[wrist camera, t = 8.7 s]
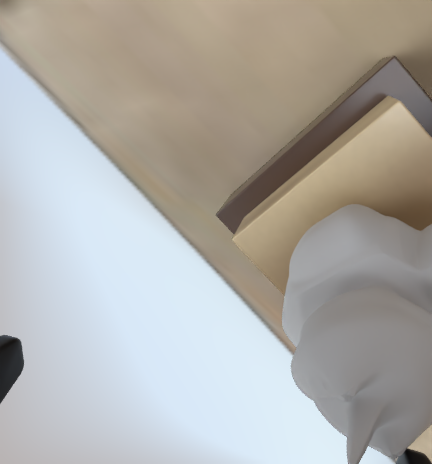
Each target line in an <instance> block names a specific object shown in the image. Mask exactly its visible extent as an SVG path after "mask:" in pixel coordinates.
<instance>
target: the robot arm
mask: <svg viewBox="0 0 432 464" xmlns="http://www.w3.org/2000/svg"><path fill="white" fill-rule="evenodd" d="M23 366H24V359H23V352H22V345H21V341H20V340H19V339H18V338H15V337H12V336H8V335H2V336H0V403H1V402H2V400H3V399H4V398H5V396H6V395H7V393H8V392H9V390H10V389H11V387H12V386H13V384H14V383H15V381H16V380H17V378H18V377H19V376H20V374H21V372H22V370H23ZM396 464H432V463H431V461H430V460H429V459H428V457H427V456H426V455H425V454H423V453H421V452H418V451H414V450H411V449H407V448H406V450H405V451H404V453H403V454H402V455H401V456H399V457H398V459H397V462H396Z"/></svg>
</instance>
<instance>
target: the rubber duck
mask: <svg viewBox="0 0 432 464" xmlns="http://www.w3.org/2000/svg"><path fill="white" fill-rule="evenodd" d="M282 325H283V330H284V332H285V333H286V335H287V337H288V338H289V339H290V340H291V342H292V343H293V344H294V345H295V347H296V348H297V349H296V351H295V353H294V356H293V359H292V363H291V372H292V376H293V379H294V381H295V383H296V385H297V386H298V388H299V389H300V390H301V391H302V392H303V393H304V394H305V395H306V396H307V397H308V398H310V399H311V400H313V401H314V403H315V404H316V406H317V408H318V409H319V411H320V412H321V413H322V415H323V416H324V417H325V418H326V420H327V421H328V422H329V423H330V424H331V425H332V426H333V427H334V428H335V429H337V430H338V431H339V432H340V433H342V434H343V435H345V436H346V437H347V458H348V464H359V462H360V460H361V458H362V456H363V454H364V453H365V451H366V449H367V447H368V446H370V447H371V448H373V449H375V450H377V451H379V452H381V453H382V454H384V455H386V456H388V457H391V458H392V459H393V460H395V458H397V457H399V456H401V455H402V454H403V453H404V451H405V450H406V448H407V447H408V446H409V445H411V444H412V443H413V442H414V441H415V440H416V439H417V438H418V437H419V436H420V435H421V434H422V433H423V432H424V431H425V430H426V429H427V428H428V427H429V426H430V425H431V424H432V224H431V225H429V226H427V227H426V228H425V229H423V230H422V231H419V230H416V229H414V228H412V227H411V226H409V225H407V224H405V223H404V222H402V221H400V220H398V219H396V218H393V217H389V216H384V215H382V214H380V213H378V212H376V211H375V210H373V209H371V208H369V207H366V206H363V205H359V204H351V205H347V206H344V207H342V208H340V209H339V210H337V211H335V212H334V213H332V214H331V215H329V216H327V217H326V218H324V219H323V220H321V221H319V222H318V223H316V224H315V225H313V226H312V227H311V228H310V229H309V230H308V231H307V232H306V233H305V234H304V235H303V237H302V238H301V239H300V241H299V242H298V244H297V246H296V248H295V250H294V252H293V254H292V256H291V259H290V265H289V278H288V282H287V286H286V291H285V298H284V305H283V314H282Z"/></svg>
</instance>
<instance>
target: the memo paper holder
mask: <svg viewBox="0 0 432 464" xmlns="http://www.w3.org/2000/svg"><path fill="white" fill-rule="evenodd" d="M351 204H359V205H363V206H366V207H369V208H371V209H373V210H375V211H376V212H378V213H380V214H382V215H384V216H389V217H393V218H396V219H398V220H400V221H402V222H404V223H405V224H407V225H409V226H411V227H412V228H414V229H416V230H419V231H422V230H423V229H425V228H426V227H427V226H429V225H431V224H432V99H431V98H430V97H429V96H428V95H427V93H426V92H425V91H424V90H423V89H422V87H421V86H420V85H419V84H418V83H417V81H416V80H415V79H414V78H413V77H412V75H411V74H410V73H409V72H408V71H407V69H406V68H405V67H404V66H403V65H402V63H401V62H400V61H399V60H398V59H397V57H396V56H392V57H386V58H383V59H382V60H381V61H379V62H378V63H377V64H376V65H375V66H374V67H373V68H372V69H371V70H369V71H368V72H367V73H366V74H365V75H364V76H363V77H362V78H360V79H359V80H358V81H357V82H356V83H355V84H354V85H353V86H352V87H350V88H349V89H348V90H347V91H346V92H345V93H344V94H343V95H342V96H340V97H339V98H338V99H337V100H336V101H335V102H334V103H333V104H332V105H330V106H329V107H328V108H327V109H326V110H325V111H324V112H323V113H322V114H320V115H319V116H318V117H317V118H316V119H315V120H314V121H313V122H312V123H310V124H309V125H308V126H307V127H306V128H305V129H304V130H303V131H302V132H300V133H299V134H298V135H297V136H296V137H295V138H294V139H293V140H292V141H290V142H289V143H288V144H287V145H286V146H285V147H284V148H283V149H281V150H280V151H279V152H278V153H277V154H276V155H275V156H274V157H273V158H271V159H270V160H269V161H268V162H267V163H266V164H265V165H264V166H263V167H261V168H260V169H259V170H258V171H257V172H256V173H255V174H254V175H253V176H251V177H250V178H249V179H248V180H247V181H246V182H245V183H244V184H243V185H241V186H240V187H239V188H238V189H237V190H236V191H235V192H234V193H233V194H231V195H230V197H229V198H228V199H227V201H226V202H225V203H224V204H223V206H222V207H221V208H220V210H219V211H218V212H217V214H216V216H217V217H218V218H219V219H220V220H221V221H222V222H223V223H224V224H225V225H226V226H227V227H228V229H229V230H230V231H231V232H232V233H233V234H234V236H233V238H232V241H233V242H234V243H235V244H236V245H237V246H238V247H239V248H240V250H241V251H242V252H243V253H244V254H245V255H246V256H247V257H248V258H249V259H250V260H251V261H252V262H253V263H254V264H255V265H256V266H257V267H258V268H259V270H260V271H261V272H262V273H263V274H264V275H265V276H266V277H267V278H268V279H269V280H270V281H271V282H272V283H273V284H274V285H275V286H276V287H277V289H278V290H279V291H280V292H281V293H282V294H283V295H284V296H285V291H286V286H287V282H288V278H289V265H290V259H291V256H292V254H293V252H294V250H295V248H296V246H297V244H298V242H299V241H300V239H301V238H302V237H303V235H304V234H305V233H306V232H307V231H308V230H309V229H310V228H311V227H312V226H313V225H315V224H316V223H318V222H319V221H321V220H323V219H324V218H326V217H327V216H329V215H331V214H332V213H334V212H335V211H337V210H339V209H340V208H342V207H344V206H347V205H351Z"/></svg>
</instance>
